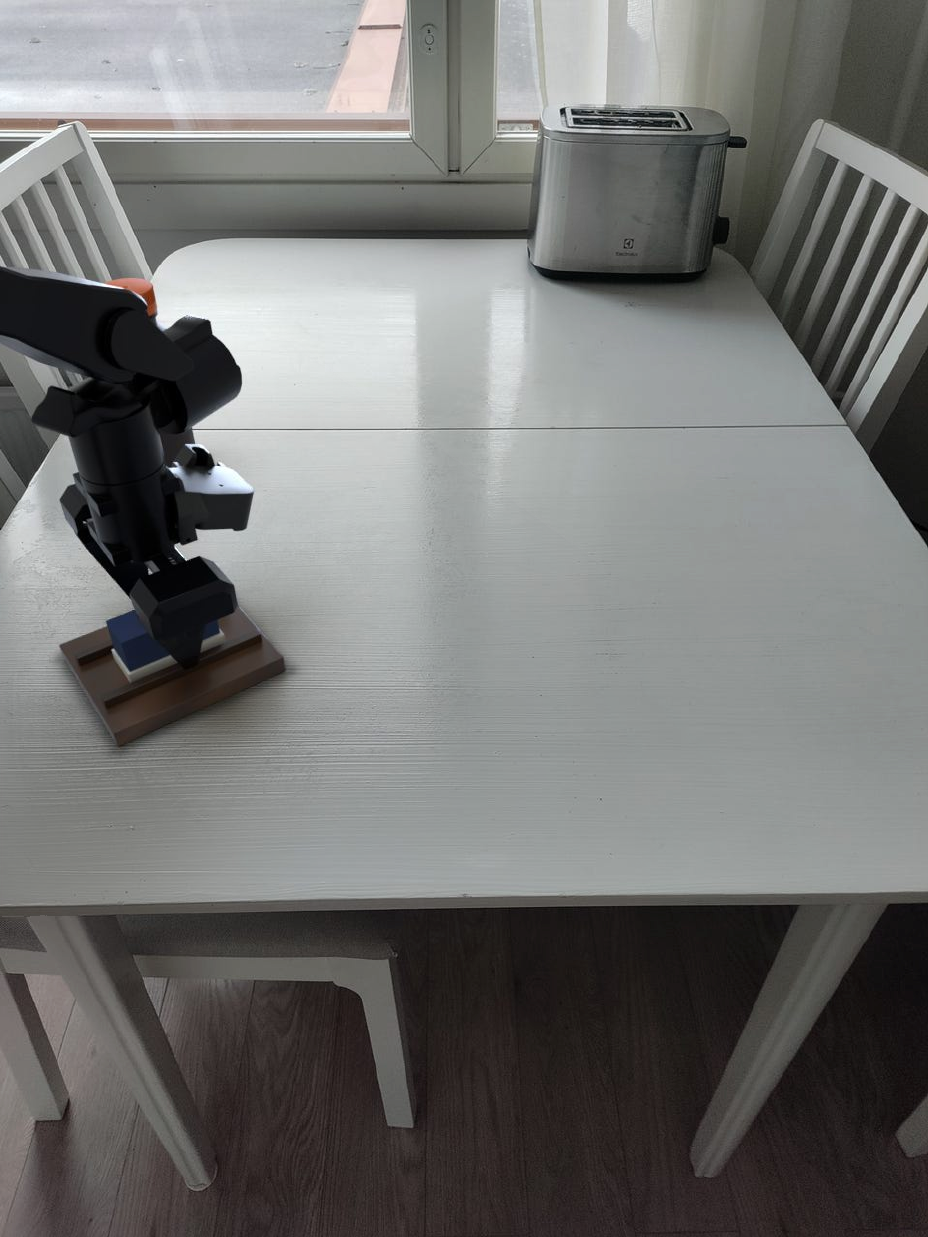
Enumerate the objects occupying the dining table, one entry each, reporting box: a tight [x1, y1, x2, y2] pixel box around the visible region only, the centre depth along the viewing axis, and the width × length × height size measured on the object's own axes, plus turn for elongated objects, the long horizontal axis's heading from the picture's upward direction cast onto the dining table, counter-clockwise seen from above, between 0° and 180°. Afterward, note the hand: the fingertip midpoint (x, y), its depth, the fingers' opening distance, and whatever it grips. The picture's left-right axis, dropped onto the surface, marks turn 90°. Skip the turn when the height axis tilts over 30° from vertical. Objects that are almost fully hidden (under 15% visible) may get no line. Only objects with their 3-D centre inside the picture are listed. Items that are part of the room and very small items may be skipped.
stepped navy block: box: [105, 609, 226, 683], centre depth 75 cm, size 8×4×4 cm, turn 127°
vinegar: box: [103, 277, 196, 468], centre depth 93 cm, size 7×7×20 cm
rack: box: [58, 604, 287, 747], centre depth 77 cm, size 14×12×2 cm
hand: (166, 634), depth 76 cm, fingers open, 9 cm apart
